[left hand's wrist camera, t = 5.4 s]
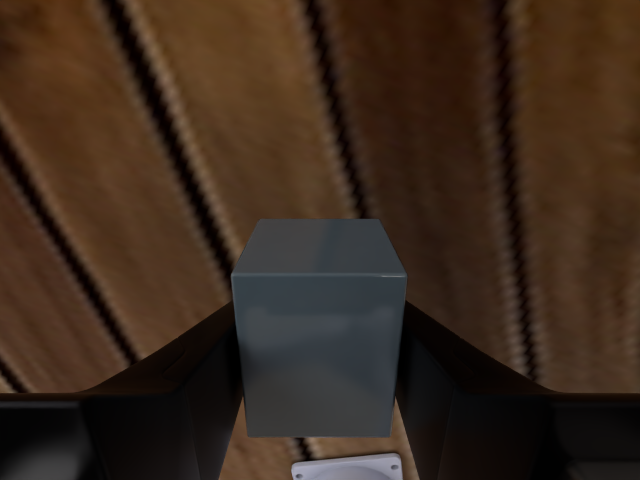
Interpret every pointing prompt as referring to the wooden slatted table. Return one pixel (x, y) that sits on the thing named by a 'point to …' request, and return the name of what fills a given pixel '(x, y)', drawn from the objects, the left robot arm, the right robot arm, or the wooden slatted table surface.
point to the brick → (319, 327)
